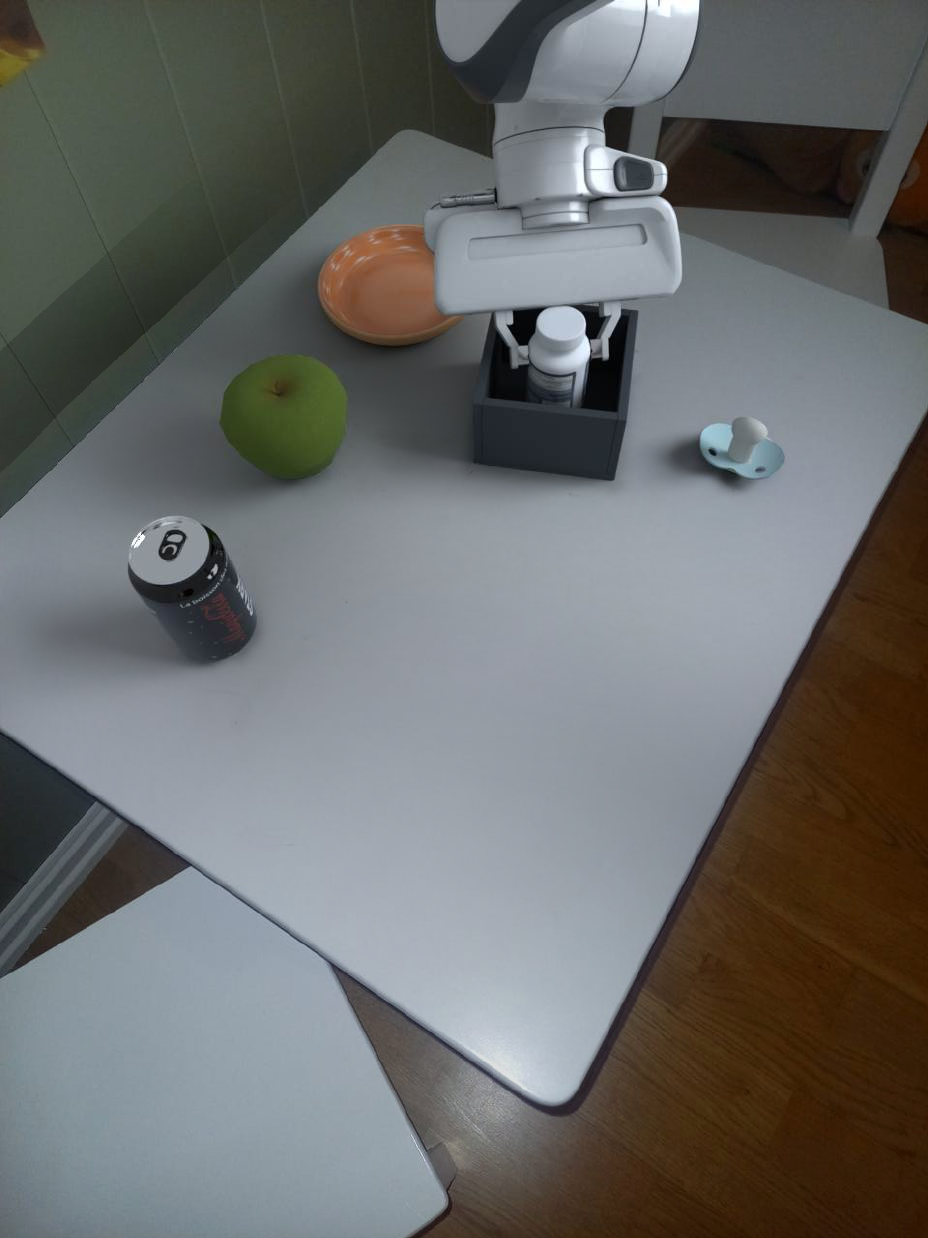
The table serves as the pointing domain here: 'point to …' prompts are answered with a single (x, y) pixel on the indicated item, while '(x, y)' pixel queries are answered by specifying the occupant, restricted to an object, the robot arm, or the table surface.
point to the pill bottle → (558, 358)
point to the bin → (550, 431)
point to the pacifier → (742, 448)
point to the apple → (285, 415)
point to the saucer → (383, 287)
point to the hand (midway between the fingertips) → (559, 364)
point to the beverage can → (192, 587)
